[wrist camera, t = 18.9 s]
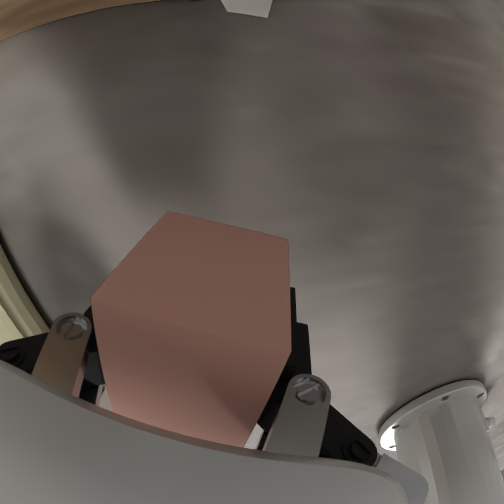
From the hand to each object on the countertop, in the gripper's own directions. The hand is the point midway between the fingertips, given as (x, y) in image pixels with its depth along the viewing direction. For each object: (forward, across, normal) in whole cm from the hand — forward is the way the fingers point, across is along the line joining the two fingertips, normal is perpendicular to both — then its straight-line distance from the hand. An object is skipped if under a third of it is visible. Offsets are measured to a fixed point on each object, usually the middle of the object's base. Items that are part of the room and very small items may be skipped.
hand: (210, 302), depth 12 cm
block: (+1, 0, 0) cm, 1 cm away
